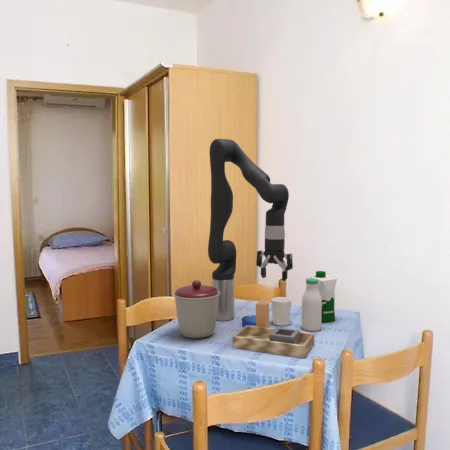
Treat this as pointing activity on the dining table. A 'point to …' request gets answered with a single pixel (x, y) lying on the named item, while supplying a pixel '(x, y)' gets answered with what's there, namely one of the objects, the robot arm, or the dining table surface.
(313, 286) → the milk bottle
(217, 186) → the robot arm
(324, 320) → the milk carton
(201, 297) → the canister
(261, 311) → the plug
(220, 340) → the dining table surface
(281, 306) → the white cup
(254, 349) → the oak box
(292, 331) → the socket
